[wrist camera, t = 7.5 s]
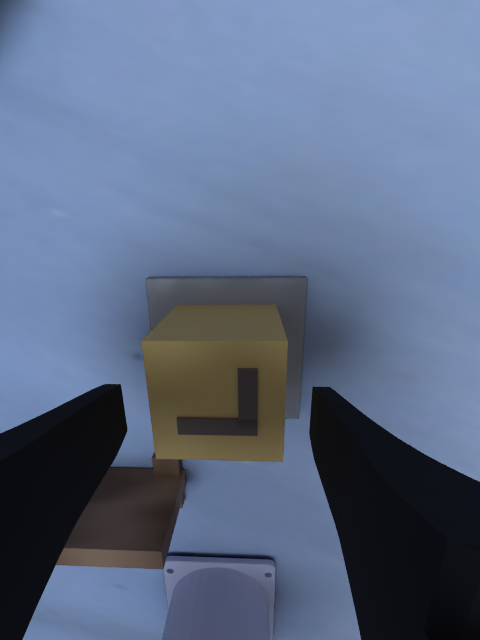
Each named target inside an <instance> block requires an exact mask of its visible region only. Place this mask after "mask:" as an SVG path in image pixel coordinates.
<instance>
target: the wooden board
mask: <svg viewBox="0 0 480 640" xmlns="http://www.w3.org/2000/svg"><path fill="white" fill-rule="evenodd" d="M152 462H153V468H123V467H110V468H109V469H108V471H107V473H106V474H105V476H104V478H103V479H102V481H101V483H100V484H99V486H98V488H97V489H96V491H95V493H94V494H93V496H92V498H91V499H90V501H89V503H88V504H87V506H86V507H85V509H84V511H83V512H82V514H81V516H80V518H79V519H78V521H77V523H76V525H75V527H74V528H73V530H72V532H71V534H70V536H69V538H68V540H67V542H66V545H65V547H64V549H63V551H62V553H61V555H60V557H59V559H58V561H57V563H56V565H71V566H96V567H121V568H146V569H164V566H165V562H166V558H167V554H168V550H169V547H170V543H171V539H172V535H173V531H174V527H175V524H176V520H177V516H178V512H179V508H183V504H184V489H185V486H186V478H185V469H182V467H181V459H156V455H155V452H154V454H153V457H152Z"/></svg>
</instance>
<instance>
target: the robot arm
mask: <svg viewBox="0 0 480 640" xmlns="http://www.w3.org/2000/svg"><path fill="white" fill-rule="evenodd" d="M126 433H127V423H126V417H125V410H124V403H123V396H122V389H121V384H104V385H102V386H99V387H97V388H95V389H92V390H90V391H88V392H86V393H84V394H82V395H80V396H78V397H76V398H74V399H72V400H70V401H68V402H66V403H64V404H62V405H60V406H58V407H57V408H55V409H53V410H51V411H48V412H46V413H44V414H42V415H40V416H38V417H36V418H34V419H32V420H29V421H27V422H25V423H23V424H21V425H19V426H17V427H14V428H12V429H10V430H8V431H5V432H3V433H0V640H22V639H23V637H24V635H25V632H26V630H27V628H28V625H29V623H30V621H31V618H32V616H33V614H34V611H35V609H36V607H37V604H38V602H39V600H40V598H41V596H42V593H43V591H44V589H45V587H46V585H47V583H48V580H49V578H50V576H51V574H52V572H53V569H54V567H55V565H56V563H57V561H58V559H59V557H60V555H61V553H62V551H63V549H64V547H65V545H66V542H67V540H68V538H69V536H70V534H71V532H72V530H73V528H74V527H75V525H76V523H77V521H78V519H79V518H80V516H81V514H82V512H83V511H84V509H85V507H86V506H87V504H88V503H89V501H90V499H91V498H92V496H93V494H94V493H95V491H96V489H97V488H98V486H99V484H100V483H101V481H102V479H103V478H104V476H105V474H106V473H107V471H108V469H109V468H110V466H111V464H112V463H113V461H114V459H115V457H116V456H117V454H118V451H119V449H120V447H121V445H122V442H123V440H124V438H125V435H126ZM309 435H310V440H311V445H312V451H313V455H314V460H315V463H316V467H317V470H318V473H319V476H320V479H321V482H322V485H323V488H324V491H325V494H326V497H327V500H328V503H329V507H330V510H331V513H332V516H333V519H334V522H335V525H336V529H337V532H338V536H339V539H340V544H341V548H342V552H343V557H344V561H345V565H346V570H347V574H348V579H349V583H350V588H351V592H352V597H353V602H354V606H355V611H356V616H357V620H358V625H359V630H360V635H361V640H480V482H479V481H477V480H474V479H472V478H470V477H468V476H466V475H464V474H462V473H460V472H458V471H456V470H454V469H452V468H450V467H448V466H446V465H444V464H442V463H440V462H438V461H436V460H434V459H432V458H431V457H429V456H427V455H425V454H423V453H422V452H420V451H418V450H417V449H415V448H413V447H412V446H410V445H408V444H406V443H405V442H403V441H402V440H400V439H398V438H397V437H395V436H394V435H392V434H391V433H389V432H388V431H386V430H385V429H384V428H382V427H381V426H379V425H378V424H376V423H375V422H374V421H372V420H371V419H370V418H368V417H367V416H366V415H364V414H363V413H362V412H360V411H359V410H358V409H357V408H355V407H354V406H353V405H352V404H350V403H349V402H348V401H347V400H346V399H344V398H343V397H342V396H341V395H339V394H338V393H337V392H336V391H334V390H333V389H332V388H330V387H313V390H312V404H311V418H310V432H309ZM163 570H164V577H165V585H166V593H167V601H168V608H169V610H168V615H167V619H166V624H165V628H164V633H163V637H162V640H273V623H274V597H275V570H276V569H275V563H274V562H273V561H272V560H268V559H243V558H217V557H190V556H167V558H166V562H165V566H164V569H163Z"/></svg>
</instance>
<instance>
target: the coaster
mask: <svg viewBox="0 0 480 640" xmlns="http://www.w3.org/2000/svg"><path fill="white" fill-rule="evenodd" d="M145 281H146V290H147V299H148V308H149V317H150V326H151V331H152V330H153V329H154V328H155V327H156V326H157V325H158V324H159V323H160V322H161V321H162V320H163V319H164V318H165V317H166V316H167V315H168V314H169V313H170V312H171V311H172V310H173V309H174V308H175V307H176V306H177V305H276V306H277V309H278V312H279V315H280V318H281V321H282V325H283V328H284V331H285V334H286V337H287V340H288V350H287V375H286V401H285V418H294V419H299V411H300V394H301V378H302V361H303V344H304V327H305V311H306V294H307V277H305V276H283V277H148V278H146V279H145Z"/></svg>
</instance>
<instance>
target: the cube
mask: <svg viewBox="0 0 480 640" xmlns="http://www.w3.org/2000/svg"><path fill="white" fill-rule="evenodd" d="M141 342H142V350H143V358H144V366H145V374H146V382H147V390H148V398H149V406H150V414H151V423H152V431H153V439H154V447H155V455H156V459H186V460H233V461H280V462H283V452H284V426H285V401H286V375H287V350H288V340H287V337H286V334H285V331H284V328H283V325H282V321H281V318H280V315H279V312H278V309H277V306H276V305H177V306H176V307H175V308H174V309H173V310H172V311H171V312H170V313H169V314H168V315H167V316H166V317H165V318H164V319H163V320H162V321H161V322H160V323H159V324H158V325H157V326H156V327H155V328H154V329H153V330H152V331H151V332H150V333H149V334H148V335H147V336H146V337H145V338H144V339H143V340H142V341H141Z"/></svg>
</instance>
